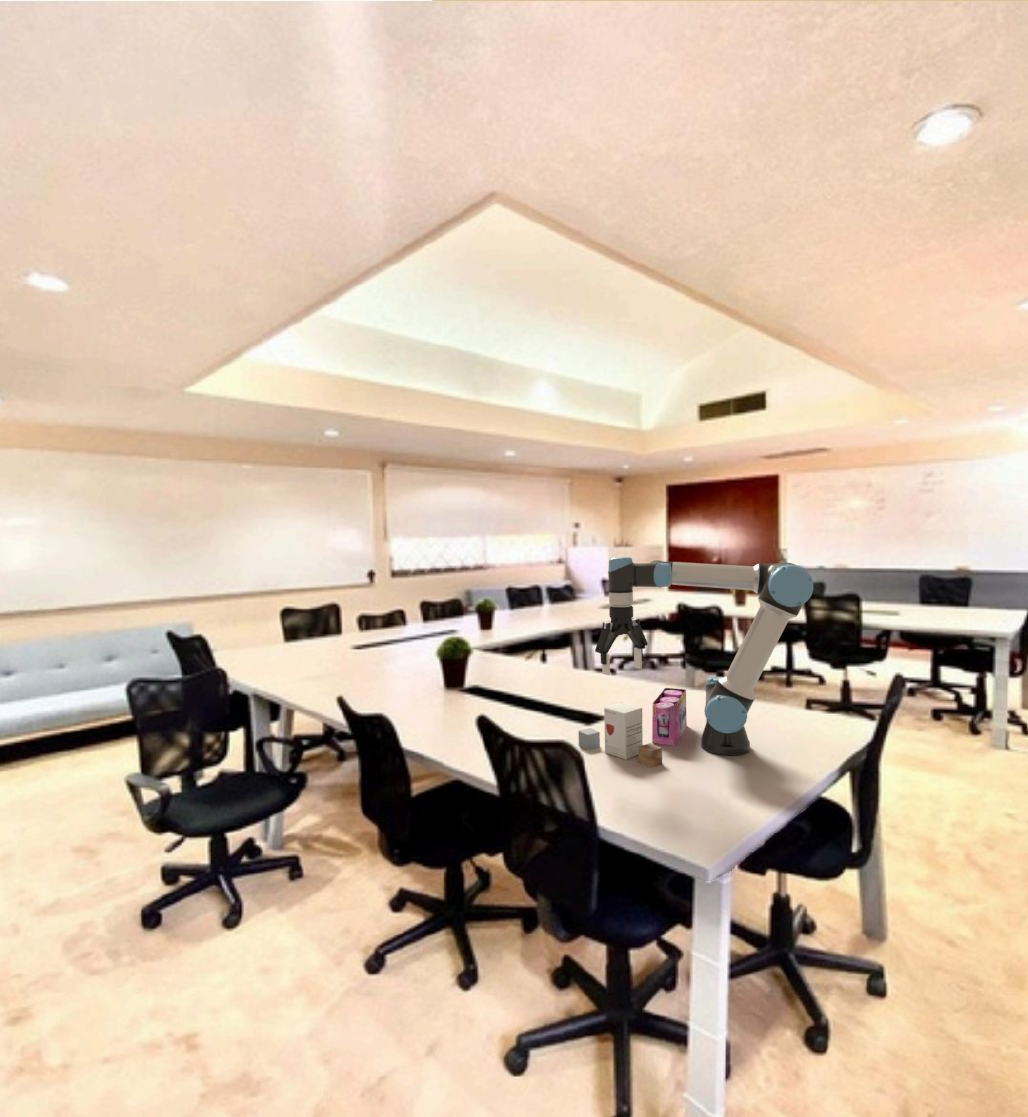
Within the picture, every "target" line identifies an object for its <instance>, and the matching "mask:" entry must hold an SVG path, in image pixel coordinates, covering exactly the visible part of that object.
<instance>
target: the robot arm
mask: <svg viewBox="0 0 1028 1117" xmlns="http://www.w3.org/2000/svg"><path fill="white" fill-rule="evenodd" d="M607 573H608V602H609V603H608V604H609V605H610V606H609V607H608V610H609V614H608V615H609V618H610V622H608V621H607V622H606V621H603V622H602V627H601V631H600V634H599V638H598V640H597V643H596V647H595V649H594V652H595V653H598V654H600V663H601V666H602V669H601V670H602V675H607V676H610V675H611V662H610V661H611V660H610V659H611V656H610V653H609V652H610V649H611V648H612V646H613V645H614V642H615V640H616V639H617V638H618V637H619V636H623V635H627V637H628V638H629V639H630V641H631V642H632V644H633V645H634V646H635V647H634V648H633V662H634V663H633V665H634V666H633V668H634V669H638V670H642V669H643V663H642V659H643V657H644V655H643V654H644V651H643V650H644V649H646V647H647V646H648V644H649V643H648V641H647V639H646V636H645V634H644V631H643V629H642V626H641V620H640V618H636V617H635V618H633V617H634V607H633V606H632V605H634V596H633V595H634V594H633V593H634V590H633V588H635V587H636V588H639V587H640V588H648V587H649V588H666V587H667V588H669V587H671V585H675V586H676V585H677V586H686V587H702V588H716V589H718V588H719V589H730V590H731V589H732V590H746V591H752V592H754V593H755V594H757V595H758V598H757V600H758V603H759V607H758V610H757V613H756V615H755V616H754V618H753V620H752V623H751V624H750V626H749V627H748V630H747V631H746V634H745V636H744V638H743V641H742V643H741V644H740V647H739V648H738V650H737V652H736V654H735V656H734V659H733V660H732V662H731V664H730V666H729V668H728V670H727V672H726V674H725V675H724V676H710V677H707V678H706V679H705V686H704V687H705V707H704V716H705V718H706V720H705V721H706V723H705V726H704V729H703V732H702V735H701V739H700V745H701V748H702V749H704V751H706V752H709V753H712V754H716V755H721V756H741V755H745V754H748V753H750V751H751V742H750V739H749V737H748V734H747V731H746V727H745V725H746V723H747V719H748V713H749V711H750V709H751V707H752V705H753V703H754V700H755V699H756V696H755V693H754V689H755V688H756V685H757V683H758V682H759V679H760V677H761V675H762V673H763V671H764V669H765V667H766V665H767V663H768V662H769V660H770V657H771V655H772V653H773V652H774V649H775V648H776V646H777V644H778V642H779V639H780V638H781V636H782V634H783V632H784V631H785V628H786V626H787V624H788V622H789V621H790V620H791V619H793V618H796V617H798V616H799V613H800V612H801V610H802V607H803V606H804V604H805V603H806V602H808V601H809V599H810V598H811V597H812V594H813V591H814V580H813V578H812V575H811V574H810V573H809V572H808V570H806V569H805V568H804V567H802V566H801V565H797V564H795V563H791V562H778V563H757V564H755V565H754V566H753V565H752V566H751V565H750V566H749V565H734V564H733V565H732V564H715V563H714V564H713V563H698V562H697V563H696V562H683V561H682V562H681V561H662V560H657V559H656V560H652V561H650V562H646V563H645V562H642V563H637V562H634V561H633V558H632V557H630V556H615V557H610V558H609V559H608V572H607Z"/></svg>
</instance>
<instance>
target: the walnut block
mask: <svg viewBox="0 0 1028 1117" xmlns="http://www.w3.org/2000/svg"><path fill="white" fill-rule="evenodd" d="M638 753H639V754H638V763H639V764H642V765H644V766H646V767H649V768H653V767H656V766H659V765H663V748H662V747H661V746H658V745H655V744H654V743H650V742H649V743H646V744H643V745H642V746H638Z"/></svg>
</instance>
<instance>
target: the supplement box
mask: <svg viewBox="0 0 1028 1117" xmlns="http://www.w3.org/2000/svg"><path fill="white" fill-rule="evenodd" d="M603 709H604V710H603V711H604V717H603V718H604V753H605V754H608V755H611V756H613V757H616V758H617V757H618V758H620V759H623V760H626V761H627V760H629V759H631V758H634V757H636V756H639V753H638V746H642V745H644V744H643V742H644V741H643V707H640V706H636V705H633V704H630V703H624V702H623V701H622V702H621V701H620V702H619V703H615V704H612V705H608V706H606V707H604V708H603Z"/></svg>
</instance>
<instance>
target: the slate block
mask: <svg viewBox="0 0 1028 1117" xmlns="http://www.w3.org/2000/svg"><path fill="white" fill-rule="evenodd" d="M600 733H601V732H600V731H598V730H596V729H593V728H591V727H588V728H585V729H581V730H578V746H579V747H581V748H583V749H586V750H587V751H588V750H592V749H596V748H599V747H601V742H600V740H601V738H600V735H601V734H600Z"/></svg>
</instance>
